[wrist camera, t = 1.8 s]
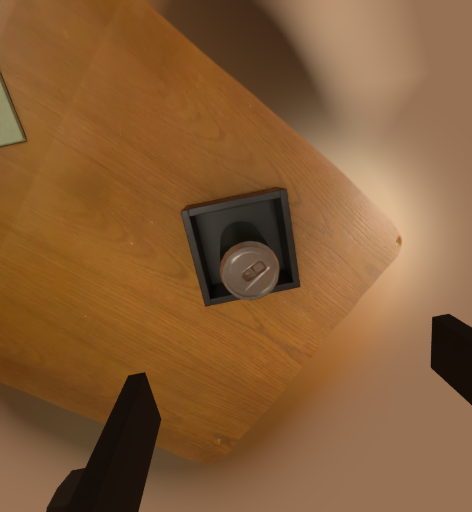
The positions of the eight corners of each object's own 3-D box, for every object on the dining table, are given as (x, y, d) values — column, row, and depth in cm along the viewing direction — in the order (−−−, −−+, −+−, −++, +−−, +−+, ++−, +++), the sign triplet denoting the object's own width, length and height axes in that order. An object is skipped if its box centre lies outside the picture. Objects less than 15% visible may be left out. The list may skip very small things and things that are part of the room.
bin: (277, 186, 34) (286, 188, 29) (290, 272, 37) (300, 287, 32) (186, 206, 34) (180, 210, 29) (207, 289, 37) (205, 306, 32)
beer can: (245, 212, 34) (257, 231, 22) (269, 245, 35) (293, 279, 24) (211, 238, 34) (206, 269, 23) (236, 269, 36) (244, 313, 24)
